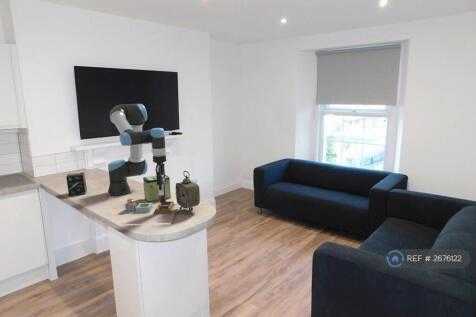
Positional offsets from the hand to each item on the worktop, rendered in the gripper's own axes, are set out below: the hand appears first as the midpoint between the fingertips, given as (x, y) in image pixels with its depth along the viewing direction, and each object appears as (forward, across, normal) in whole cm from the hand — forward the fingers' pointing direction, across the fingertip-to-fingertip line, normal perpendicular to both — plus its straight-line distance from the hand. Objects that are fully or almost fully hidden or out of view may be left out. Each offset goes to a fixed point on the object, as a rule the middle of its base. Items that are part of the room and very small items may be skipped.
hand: (162, 193), depth 187 cm
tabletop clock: (+12, -2, +15) cm, 19 cm away
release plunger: (+9, -3, -20) cm, 22 cm away
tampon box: (+12, -43, -71) cm, 84 cm away
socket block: (+12, -3, -15) cm, 19 cm away
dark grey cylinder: (+5, 0, 0) cm, 5 cm away
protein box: (+12, -25, -9) cm, 29 cm away
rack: (+12, -4, 0) cm, 13 cm away
